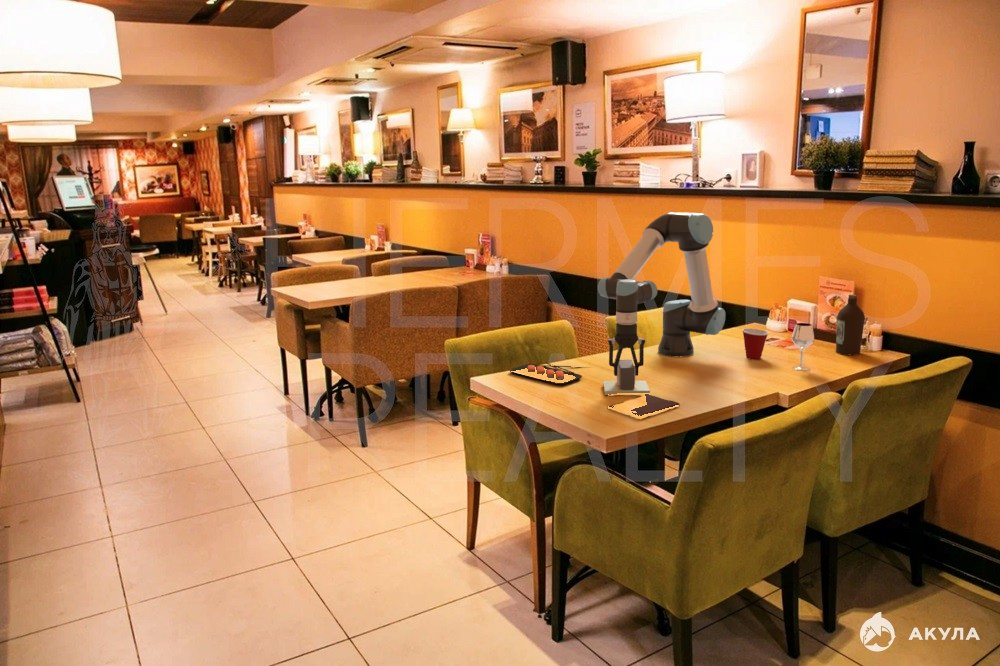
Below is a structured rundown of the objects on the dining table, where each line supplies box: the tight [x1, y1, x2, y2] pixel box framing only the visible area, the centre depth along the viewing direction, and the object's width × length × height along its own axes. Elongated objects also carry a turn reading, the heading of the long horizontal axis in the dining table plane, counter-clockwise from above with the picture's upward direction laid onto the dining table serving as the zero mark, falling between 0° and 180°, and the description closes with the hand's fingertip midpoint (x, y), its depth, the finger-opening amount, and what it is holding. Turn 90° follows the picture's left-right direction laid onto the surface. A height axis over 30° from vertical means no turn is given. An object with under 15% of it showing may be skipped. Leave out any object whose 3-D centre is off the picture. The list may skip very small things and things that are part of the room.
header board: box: [602, 380, 651, 396], centre depth 264 cm, size 12×16×6 cm
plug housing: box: [618, 359, 636, 389], centre depth 264 cm, size 11×5×8 cm, turn 176°
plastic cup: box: [741, 327, 770, 361], centre depth 301 cm, size 11×11×12 cm
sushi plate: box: [509, 362, 583, 385], centre depth 291 cm, size 29×30×4 cm
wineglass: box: [791, 322, 815, 371], centre depth 284 cm, size 8×8×18 cm
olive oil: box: [835, 294, 866, 356], centre depth 303 cm, size 11×11×25 cm
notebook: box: [608, 394, 680, 416], centre depth 246 cm, size 15×20×2 cm
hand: (625, 383), depth 264 cm, fingers closed on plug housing, 5 cm apart
